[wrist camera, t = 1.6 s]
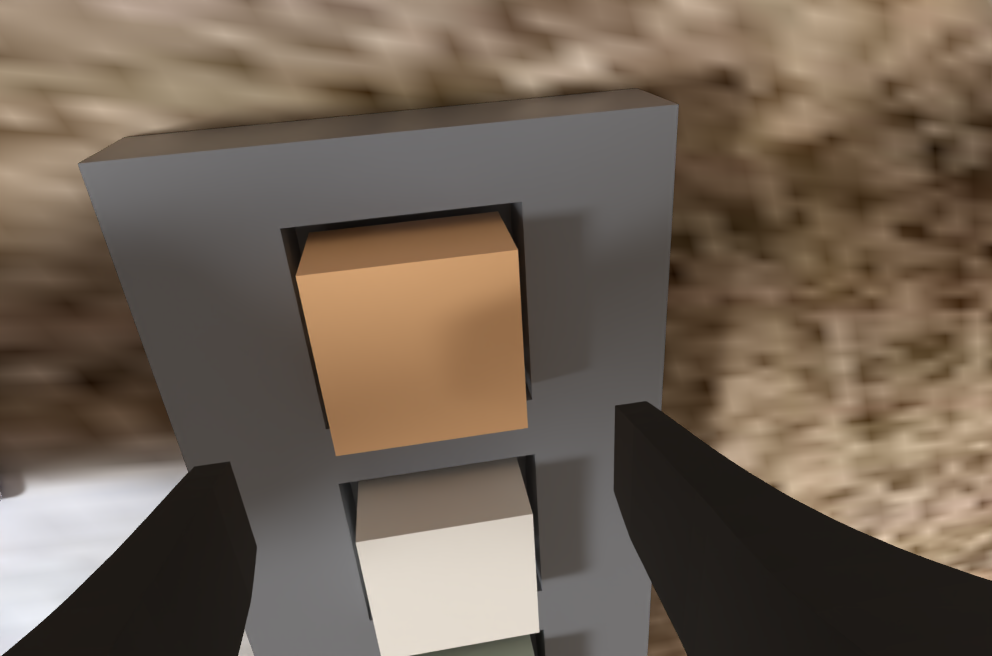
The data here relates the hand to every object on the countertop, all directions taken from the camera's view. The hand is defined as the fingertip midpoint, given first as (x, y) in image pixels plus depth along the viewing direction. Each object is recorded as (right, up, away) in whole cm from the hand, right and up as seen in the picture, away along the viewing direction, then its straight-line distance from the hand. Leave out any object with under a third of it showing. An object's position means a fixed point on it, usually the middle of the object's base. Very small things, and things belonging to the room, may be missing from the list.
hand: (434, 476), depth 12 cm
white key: (-1, -3, +11) cm, 12 cm away
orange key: (-1, +3, +7) cm, 7 cm away
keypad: (-1, -3, +12) cm, 12 cm away
